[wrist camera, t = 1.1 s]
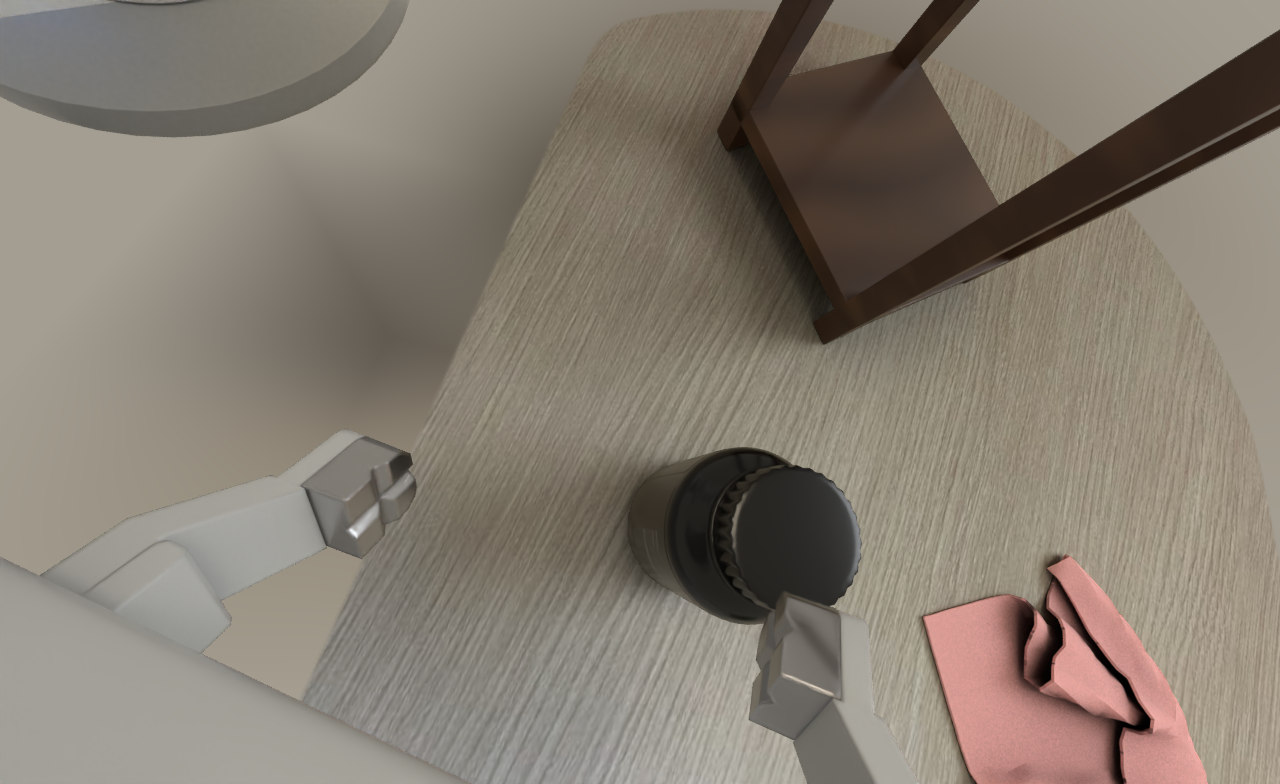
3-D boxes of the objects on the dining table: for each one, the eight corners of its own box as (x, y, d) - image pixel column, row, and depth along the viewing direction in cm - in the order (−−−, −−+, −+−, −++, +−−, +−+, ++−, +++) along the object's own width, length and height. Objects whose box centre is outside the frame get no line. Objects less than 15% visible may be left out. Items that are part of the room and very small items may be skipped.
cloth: (1200, 992, 28) (1260, 1036, 26) (867, 877, 26) (900, 915, 23) (1218, 624, 34) (1269, 633, 31) (946, 501, 31) (979, 501, 29)
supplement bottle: (739, 595, 27) (889, 666, 16) (617, 582, 26) (683, 648, 15) (748, 470, 29) (891, 452, 17) (634, 452, 28) (707, 420, 16)
